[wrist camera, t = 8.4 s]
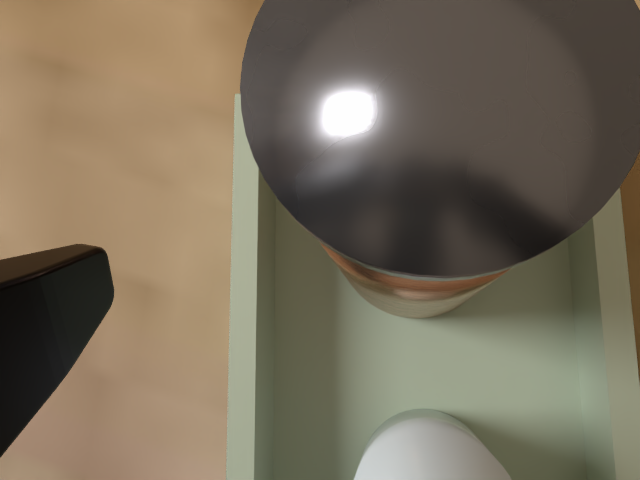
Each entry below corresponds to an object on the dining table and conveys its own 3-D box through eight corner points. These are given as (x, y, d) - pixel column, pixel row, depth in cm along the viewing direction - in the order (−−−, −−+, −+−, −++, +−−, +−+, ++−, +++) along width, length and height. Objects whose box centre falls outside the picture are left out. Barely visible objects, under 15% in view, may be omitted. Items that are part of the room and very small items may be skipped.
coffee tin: (503, 320, 19) (678, 271, 7) (335, 322, 20) (235, 279, 8) (493, 158, 20) (631, -124, 8) (333, 165, 21) (243, -86, 9)
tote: (620, 610, 18) (667, 666, 14) (251, 592, 19) (222, 640, 16) (576, 113, 20) (608, 71, 17) (258, 130, 22) (234, 94, 19)
